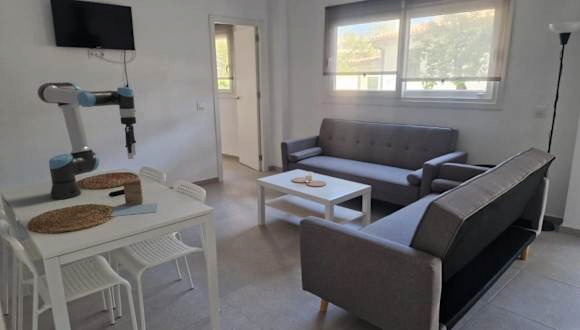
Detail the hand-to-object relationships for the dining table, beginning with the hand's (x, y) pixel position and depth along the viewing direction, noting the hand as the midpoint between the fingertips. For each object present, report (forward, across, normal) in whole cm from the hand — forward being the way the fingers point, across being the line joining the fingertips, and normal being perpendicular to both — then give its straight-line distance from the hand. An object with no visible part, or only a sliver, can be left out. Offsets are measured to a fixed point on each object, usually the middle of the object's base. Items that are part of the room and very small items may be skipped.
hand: (132, 156), depth 200 cm
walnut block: (+24, -10, 0) cm, 26 cm away
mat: (+24, -20, 0) cm, 31 cm away
